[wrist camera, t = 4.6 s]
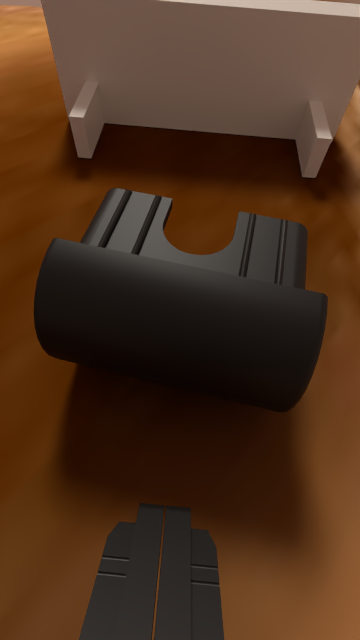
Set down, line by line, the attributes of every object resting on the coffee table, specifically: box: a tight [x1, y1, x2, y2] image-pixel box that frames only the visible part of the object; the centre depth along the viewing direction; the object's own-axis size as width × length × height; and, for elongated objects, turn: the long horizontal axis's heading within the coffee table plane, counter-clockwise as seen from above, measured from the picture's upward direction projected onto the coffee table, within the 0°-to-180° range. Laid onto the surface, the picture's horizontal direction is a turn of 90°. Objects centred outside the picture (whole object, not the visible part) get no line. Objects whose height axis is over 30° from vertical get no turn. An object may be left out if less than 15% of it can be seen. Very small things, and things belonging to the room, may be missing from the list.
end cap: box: [34, 188, 328, 412], centre depth 15 cm, size 10×7×7 cm
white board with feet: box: [41, 0, 360, 178], centre depth 24 cm, size 22×7×8 cm, turn 85°
